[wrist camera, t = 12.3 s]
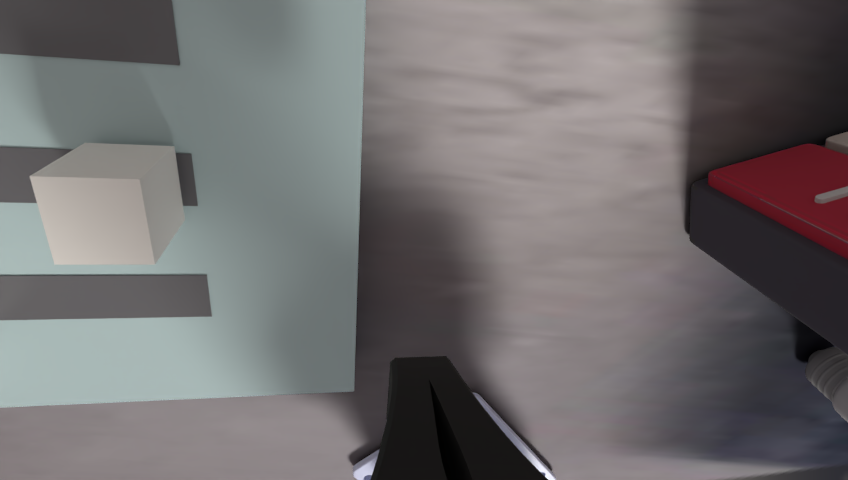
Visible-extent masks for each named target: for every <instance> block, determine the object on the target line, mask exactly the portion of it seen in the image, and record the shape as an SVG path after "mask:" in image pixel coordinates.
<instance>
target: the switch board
mask: <svg viewBox="0 0 848 480" xmlns="http://www.w3.org/2000/svg"><path fill="white" fill-rule="evenodd" d="M365 13H366V0H0V407H22V406H45V405H67V404H89V403H111V402H133V401H155V400H178V399H200V398H222V397H244V396H266V395H288V394H311V393H333V392H354V380H355V346H356V313H357V280H358V246H359V213H360V180H361V146H362V113H363V80H364V47H365ZM84 143H106V144H132V145H158V146H174V147H175V154H176V161H177V168H178V175H179V182H180V189H181V196H182V203H183V210H184V217H185V221H184V222H183V224H182V225H181V227H180V228H179V229H178V231H177V232H176V234H175V235H174V237H173V238H172V240H171V241H170V243H169V244H168V246H167V247H166V249H165V250H164V252H163V253H162V255H161V256H160V258H159V259H158V261H157V262H156V264H155V265H54V261H53V258H52V254H51V251H50V247H49V243H48V240H47V236H46V233H45V229H44V226H43V222H42V219H41V215H40V212H39V208H38V205H37V201H36V198H35V194H34V191H33V187H32V184H31V180H30V177H29V176H31V175H32V174H34V173H36V172H37V171H39V170H41V169H42V168H44V167H46V166H47V165H49V164H51V163H52V162H54V161H55V160H57V159H59V158H60V157H62V156H64V155H65V154H67V153H69V152H70V151H72V150H74V149H75V148H77V147H79V146H80V145H82V144H84Z"/></svg>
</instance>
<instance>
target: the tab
mask: <svg viewBox="0 0 848 480" xmlns="http://www.w3.org/2000/svg"><path fill="white" fill-rule="evenodd" d="M29 177H30V180H31V184H32V187H33V191H34V194H35V198H36V201H37V205H38V208H39V212H40V215H41V219H42V222H43V226H44V229H45V233H46V236H47V240H48V243H49V247H50V251H51V254H52V258H53V261H54V265H155V264H156V262H157V261H158V259H159V258H160V256H161V255H162V253H163V252H164V250H165V249H166V247H167V246H168V244H169V243H170V241H171V240H172V238H173V237H174V235H175V234H176V232H177V231H178V229H179V228H180V227H181V225H182V224H183V222H184V221H185V217H184V210H183V203H182V196H181V189H180V182H179V175H178V168H177V161H176V154H175V147H174V146H158V145H132V144H106V143H84V144H82V145H80V146H79V147H77V148H75V149H74V150H72V151H70V152H69V153H67V154H65V155H64V156H62V157H60V158H59V159H57V160H55V161H54V162H52V163H51V164H49V165H47V166H46V167H44V168H42V169H41V170H39V171H37V172H36V173H34V174H32V175H31V176H29Z"/></svg>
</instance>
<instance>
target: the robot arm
mask: <svg viewBox="0 0 848 480" xmlns="http://www.w3.org/2000/svg"><path fill="white" fill-rule="evenodd" d="M353 476H354V477H355V478H356V479H357V480H557V479H556V477H555V475H554V474H553V472H552V471H551V470H550V469H549V468H548V467H547V466H546V465H545V464H544V463H543V462H542V461H541V460H540V459H539V458H538V457H537V456H536V454H535V453H534V452H533V451H532V450H531V449H530V448H529V447H528V446H527V445H526V444H525V443H524V442H523V441H522V440H521V439H520V438H519V436H518V435H517V434H516V433H515V432H514V431H513V430H512V429H511V428H510V427H509V426H508V425H507V424H506V423H505V422H504V421H503V420H502V418H501V417H500V416H499V415H498V414H497V413H496V412H495V411H494V410H493V409H492V408H491V407H490V406H489V405H488V404H487V403H486V401H485V400H484V399H483V398H482V397H481V396H480V395H479V394H477V393H474V392H471V390H470V389H469V387H468V386H467V385H466V383H465V382H464V380H463V379H462V378H461V376H460V375H459V373H458V372H457V370H456V369H455V367H454V366H453V364H452V363H451V361H450V360H449V359H448V358H447V357H446V356H439V357H410V358H395V359H394V360H392V361H391V362H390V376H389V390H388V404H387V422H386V427H385V431H384V435H383V439H382V442H381V446H380V449H379V450H377V451H375V452H374V453H372V454H371V455H369V456H368V457H366V458H364V459H363V460H361V461H360V462H358V463H357V464H355V465H354V467H353Z"/></svg>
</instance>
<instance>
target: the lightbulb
mask: <svg viewBox="0 0 848 480" xmlns="http://www.w3.org/2000/svg"><path fill="white" fill-rule="evenodd" d="M805 373H806V377H807V379H808V380H809V381H810V382H811V383H812V384H813V385H814V386H816V387H817V389H818V390H819V391H820V392H822V393H823V394H824V395H825V396H826V397H827V398H829V399H830V400H831V401H832V403H833V407H834V409H835V410H836V411H837V412H838V413H839V414H840V415H841V416H842V417H843V418H844V419H845V420H846V421H847V422H848V355H847V354H846V353H844V352H843V351H841V350H840V349H839V348H837V347H831V348H827V349H824V350H818V351H816V352H814V353H813V354H811V355H810V357H809V359H808V364H807V366H806V369H805Z"/></svg>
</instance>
